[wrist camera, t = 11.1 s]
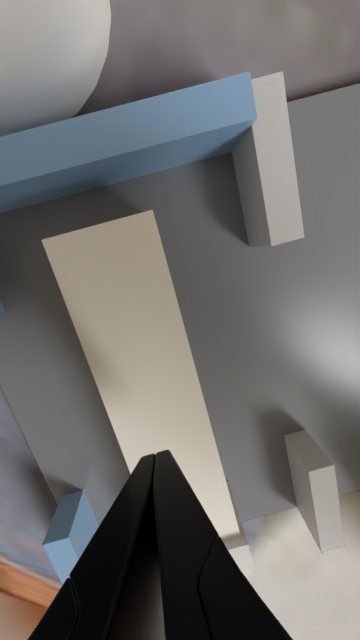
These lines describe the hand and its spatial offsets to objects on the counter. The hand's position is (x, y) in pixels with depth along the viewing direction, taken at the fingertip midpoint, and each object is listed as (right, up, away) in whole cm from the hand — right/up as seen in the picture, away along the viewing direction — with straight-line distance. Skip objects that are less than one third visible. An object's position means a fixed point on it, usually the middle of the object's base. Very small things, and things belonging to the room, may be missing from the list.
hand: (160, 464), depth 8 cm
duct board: (+6, +3, +6) cm, 9 cm away
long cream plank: (0, +1, +5) cm, 5 cm away
